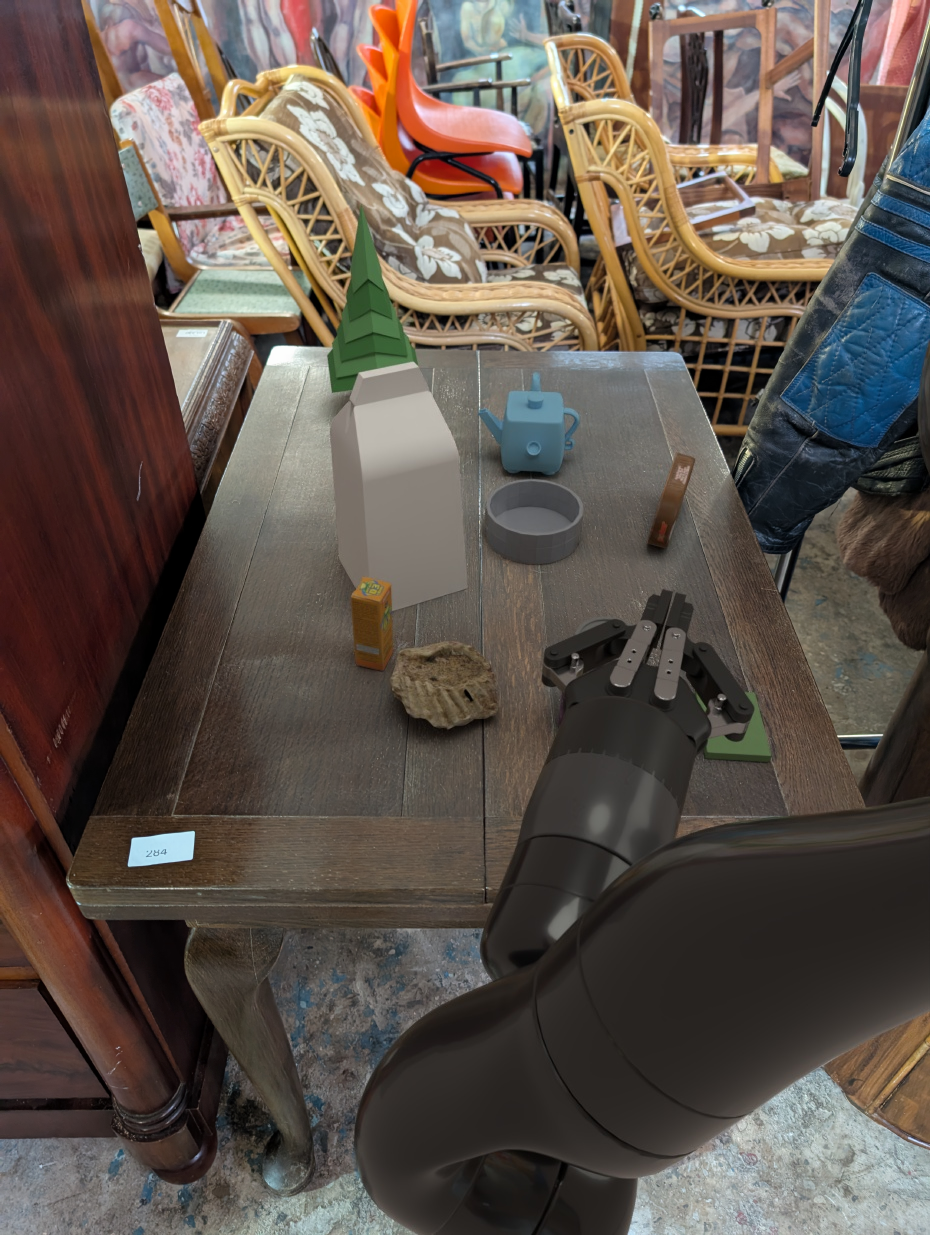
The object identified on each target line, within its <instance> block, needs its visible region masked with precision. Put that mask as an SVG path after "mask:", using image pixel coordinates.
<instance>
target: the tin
mask: <svg viewBox="0 0 930 1235" xmlns="http://www.w3.org/2000/svg"><path fill="white" fill-rule="evenodd" d="M695 463H696V458H695V457H694V456H690V455H688V454H682V453H679V452H678V451H676V453H675V455H674V458H673V461H672V462H671V467H670V469H669V472H668V475H667V477H666V481H665V484H664V487H663V489H662V492H661V496H660V499H659V501H658V504H657V508H656V511H655V515H654V516H653V522H652V525H651V528H650V531H649V536H648V538H647V541H646V544H647V545H652V546H655V547H659V548H664V549H667V548H668V547H669V545H670V542H671V539H672V537H673V533H674V531H675V527H676V523H677V521H678V517H679V513H680V511H681V508H682V504H683V502H684V498H685V494H686V493H687V492H686V491H687V489H688V486H689V483H690V480H691V477H692V473H693V469H694V466H695Z"/></svg>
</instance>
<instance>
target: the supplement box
mask: <svg viewBox="0 0 930 1235" xmlns="http://www.w3.org/2000/svg"><path fill="white" fill-rule="evenodd" d="M350 610H351V622H352V623H351V624H352V634H353V646H354V647H353V648H354V658H355V664H356V665H357V666H359V667H363V668H367V669H372V670H376V671H381V672H384V671H385V669H386V667H387V665H388V663H389V661H390V659H391V657H392V655H393V653H394V637H393V636H394V635H393V634H394V633H393V631H394V630H393V611H392V598H391V584H390V583H388V582H384V581H381V580H376V579H372V578H368V577H362V579H361V583H360V584H359V586H358V587H357V589H356V588H355V590H354V591H353V592H352V594H350Z"/></svg>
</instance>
